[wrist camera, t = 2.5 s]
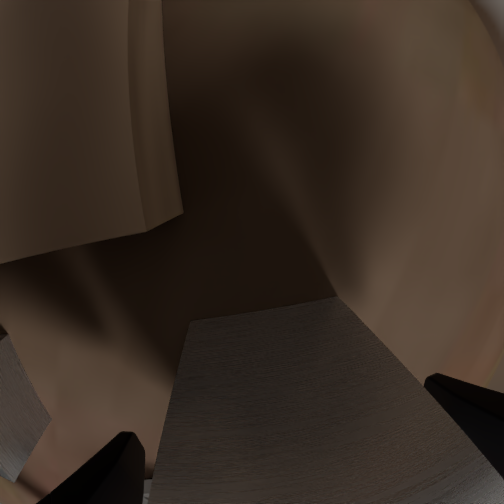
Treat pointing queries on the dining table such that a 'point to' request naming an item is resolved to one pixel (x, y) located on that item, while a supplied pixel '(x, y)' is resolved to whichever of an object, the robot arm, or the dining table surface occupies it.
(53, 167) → the hole block
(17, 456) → the grey cube
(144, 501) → the mechanical component
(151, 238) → the dining table surface
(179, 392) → the grey tall rectangular block
